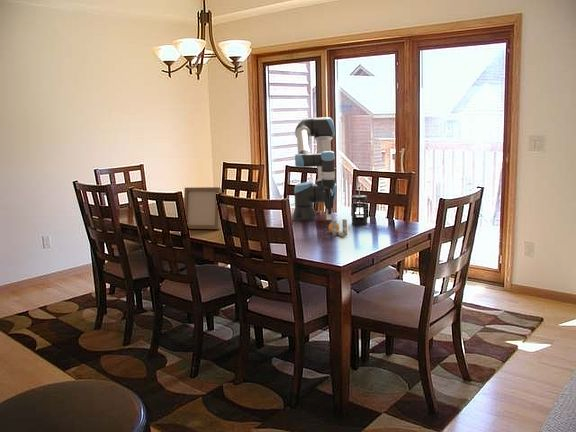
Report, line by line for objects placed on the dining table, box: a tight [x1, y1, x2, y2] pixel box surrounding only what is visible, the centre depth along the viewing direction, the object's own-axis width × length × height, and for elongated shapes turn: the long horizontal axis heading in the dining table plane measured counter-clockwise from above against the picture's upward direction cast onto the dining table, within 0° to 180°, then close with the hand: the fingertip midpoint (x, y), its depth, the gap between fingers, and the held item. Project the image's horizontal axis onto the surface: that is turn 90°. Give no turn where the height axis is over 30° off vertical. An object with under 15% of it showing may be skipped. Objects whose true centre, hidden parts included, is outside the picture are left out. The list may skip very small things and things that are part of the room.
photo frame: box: [183, 186, 222, 230], centre depth 335 cm, size 15×22×25 cm
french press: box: [351, 185, 369, 226], centre depth 331 cm, size 12×9×23 cm
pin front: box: [337, 230, 346, 238], centre depth 303 cm, size 2×2×8 cm
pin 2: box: [341, 218, 348, 236], centre depth 304 cm, size 2×2×8 cm
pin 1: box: [331, 219, 338, 237], centre depth 303 cm, size 2×2×8 cm
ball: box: [328, 222, 340, 233], centre depth 311 cm, size 6×6×6 cm
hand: (328, 219), depth 319 cm, fingers closed
